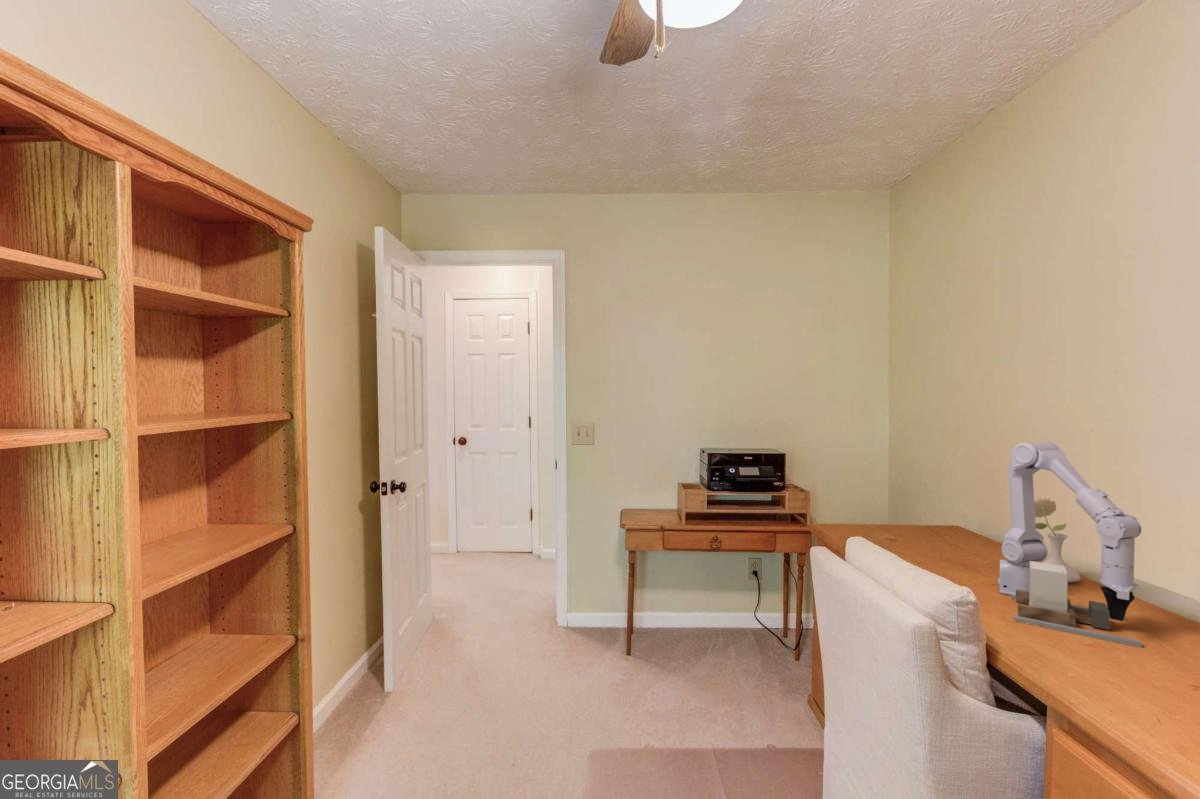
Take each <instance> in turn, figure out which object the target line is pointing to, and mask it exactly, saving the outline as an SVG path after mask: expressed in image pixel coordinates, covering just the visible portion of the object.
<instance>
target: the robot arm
mask: <svg viewBox="0 0 1200 799" xmlns="http://www.w3.org/2000/svg"><path fill="white" fill-rule="evenodd" d="M1010 456H1011V459H1010V461H1009V463H1008V467H1007V471H1008V472H1007V474H1008V489H1009V506H1010V508H1009V509H1010V523H1011V524H1010V526H1011V528H1009V530H1008V531H1007V532H1005V533H1004V534H1003V542H1002V545H1001V553H1002V556H1004V558H1005V559H999V572H998V573H999V575H998V576H999V578H998V579H997V586H999V587H998V588H999V593H1000V594H1004V595H1010V596H1011V594H1015V595H1016V589H1017V590H1022V591H1028V592H1029V586H1030V561H1034V562H1041V563H1042V562H1043V561H1045V560H1046V559H1047V557H1048V553H1049V552H1048V548H1047V546H1046V544H1045V542H1044V536H1043V535H1042V534H1041V533H1040V531H1038V529H1036V517H1035V506H1034V500H1035V494H1034V493H1035V492H1034V491H1035V490H1034V478H1033V477H1034V476H1033V475H1034V474H1036V473H1037V472H1038V471H1040V470H1045V471H1050V472H1052V473H1053V474H1054V475H1055V476H1056V477H1057V478H1059V479H1060V481H1061V482H1063V483H1064V485H1066V486H1067V487H1068V489H1070V490H1071V491H1072V492H1073V493H1074V494H1075V495H1076V497H1075V502H1076V503H1077V504H1078V505H1079V506H1080V507H1081V508H1082V509H1083V511H1084V512H1085V513H1086V514H1087V515H1088V516H1089V517H1090V518H1091V519H1092V520H1093V521H1094V522H1095V526H1094V527H1095V530H1096V532H1097V534H1098V535H1099V536H1100V543H1101V566H1100V569H1101V570H1100V571H1101V572H1100V574H1101V575H1100V578H1099V583H1100V584H1102V586H1099V588H1100V589H1101V592H1102V593H1103V596H1104V598H1105V601H1106V602H1105V603H1106V606H1107V608H1108V610H1109V611H1110V614H1109V615H1110V617H1109V619H1111V620H1114V621H1120V622H1123V621H1124V620H1123V619H1124V617H1125V616H1126V613H1127V610H1128V608H1129V606H1130V604H1131V603H1132V602H1133V601H1134V600H1135V597H1136V596H1135V595H1134V593H1133V591H1134V590H1142V589H1141V588H1142V587H1141V585H1140V584H1138V583H1135V550H1136V548H1135V546H1136V545H1135V544H1136V538H1137V537H1139V536H1140V535H1141V533H1142V526H1141V523H1140V522H1139V521H1138V519H1137V518H1136V517H1135V516H1133V515H1131V514H1129V513H1127V514H1126V513H1125V512H1124V511H1123V510H1122V509H1121V508H1119V507H1118V506H1117V505H1116V504H1114V503H1113V501H1111V499H1110V498H1109V497H1108V496H1109V494H1108V493H1107V492H1106V491H1102V490H1101V489H1098V488H1092V487H1091V486H1090V485H1089V483H1088V482H1086V480H1085V479H1084V478H1083V476H1081V474H1080V473H1079V472H1078V471H1077V470H1076V469H1075V467H1074V466H1073V465H1072V464H1071V463H1070V462H1069V461H1068V460H1067V457H1066V452H1064V451H1063V450H1062V449H1060V447H1059V446H1058V445H1057V444H1056V443H1054V442H1051V441H1045V442H1020V443H1018V444H1017V445H1015V446H1014V447H1013V448H1011V449H1010Z"/></svg>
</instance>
